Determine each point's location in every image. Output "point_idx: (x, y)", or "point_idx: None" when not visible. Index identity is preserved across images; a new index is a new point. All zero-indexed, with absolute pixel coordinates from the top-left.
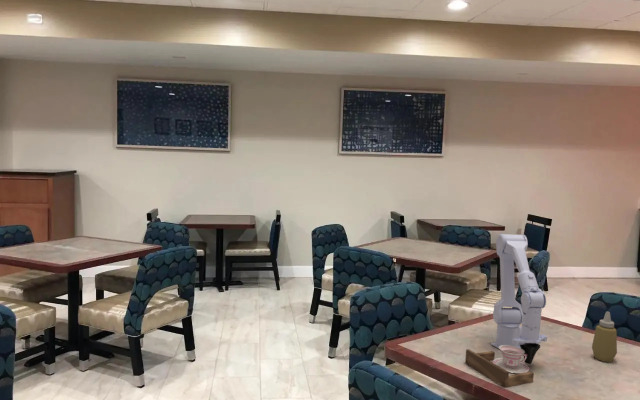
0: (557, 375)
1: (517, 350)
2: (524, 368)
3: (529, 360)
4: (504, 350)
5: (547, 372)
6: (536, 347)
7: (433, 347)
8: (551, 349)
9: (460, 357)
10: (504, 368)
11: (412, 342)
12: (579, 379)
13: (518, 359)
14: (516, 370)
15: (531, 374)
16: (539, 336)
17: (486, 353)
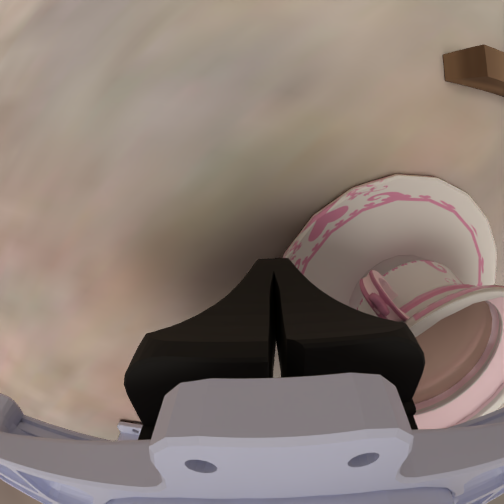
0: (140, 74)
1: None
2: (337, 242)
3: (298, 270)
4: (423, 412)
5: (180, 136)
6: (260, 341)
7: None
8: (3, 366)
9: None
10: (463, 280)
11: None
12: (49, 16)
13: (437, 286)
14: (425, 232)
15: (497, 52)
16: (54, 498)
17: None
